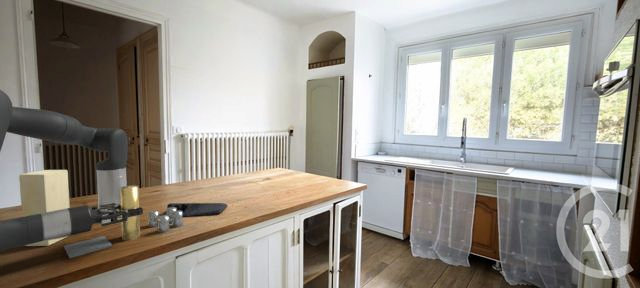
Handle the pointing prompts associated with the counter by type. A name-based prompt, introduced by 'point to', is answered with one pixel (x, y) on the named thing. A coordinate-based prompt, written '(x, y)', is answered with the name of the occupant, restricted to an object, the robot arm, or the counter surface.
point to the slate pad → (87, 246)
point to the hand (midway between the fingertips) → (138, 207)
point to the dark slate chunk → (198, 208)
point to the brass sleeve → (130, 201)
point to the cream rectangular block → (44, 194)
